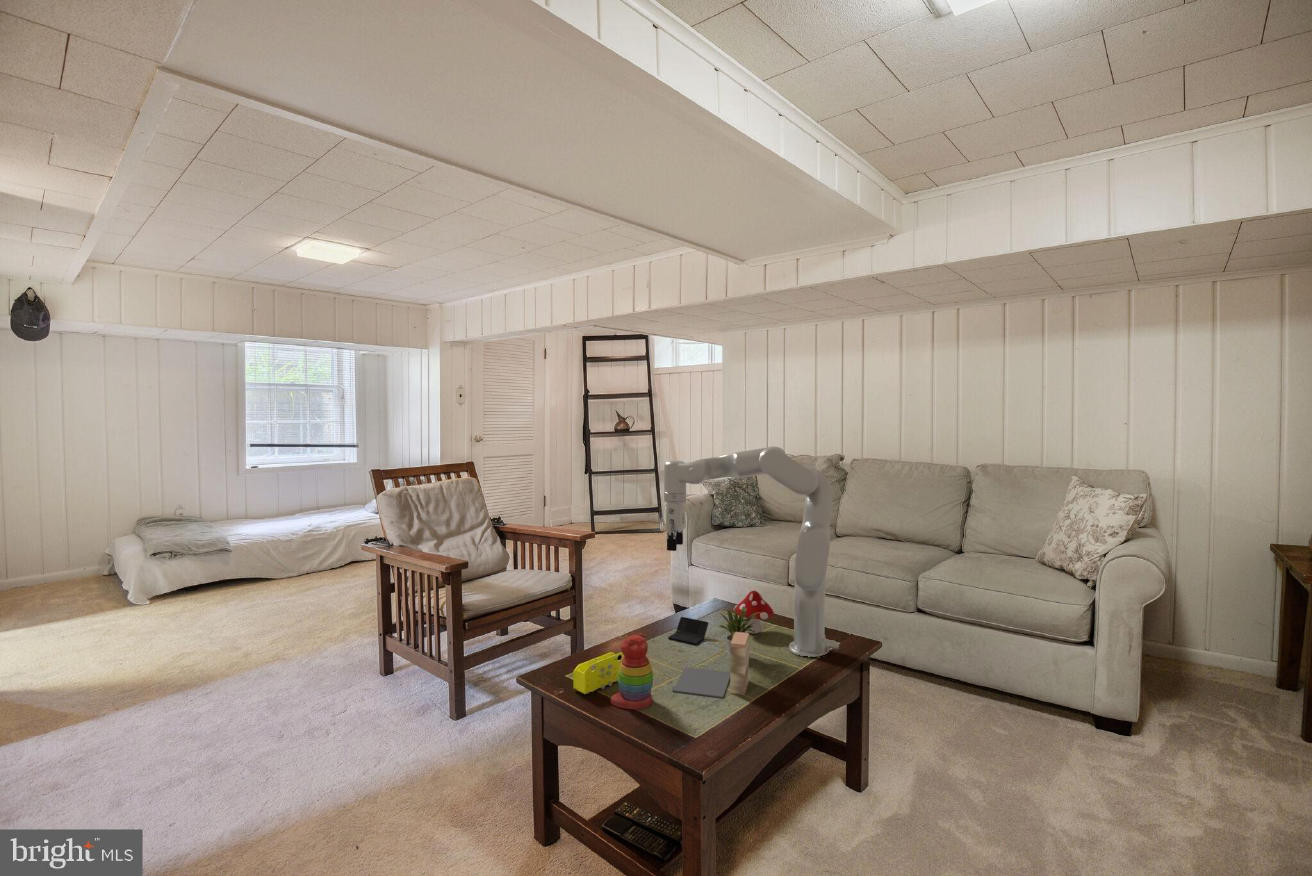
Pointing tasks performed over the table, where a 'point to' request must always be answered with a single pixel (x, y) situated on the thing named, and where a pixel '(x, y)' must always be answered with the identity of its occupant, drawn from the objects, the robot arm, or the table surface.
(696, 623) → the handheld gaming console
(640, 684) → the stacking bear
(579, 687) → the yellow toy chassis
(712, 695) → the mat
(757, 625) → the decorative mushroom
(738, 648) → the maple block
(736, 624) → the house plant
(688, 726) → the table surface
